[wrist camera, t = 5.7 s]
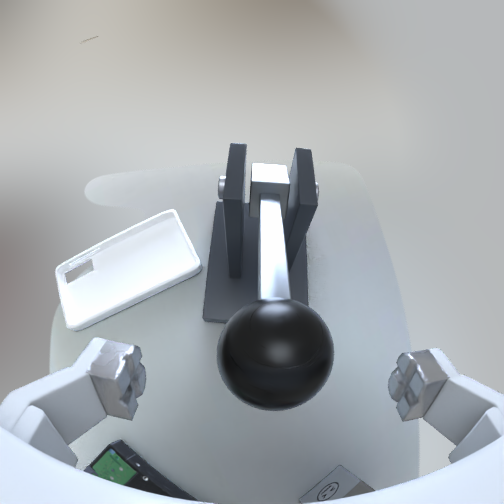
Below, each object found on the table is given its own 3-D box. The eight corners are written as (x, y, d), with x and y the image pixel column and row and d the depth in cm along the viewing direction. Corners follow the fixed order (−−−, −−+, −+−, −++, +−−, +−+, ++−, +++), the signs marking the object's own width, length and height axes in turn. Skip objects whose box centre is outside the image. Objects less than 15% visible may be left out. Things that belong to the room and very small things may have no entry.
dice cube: (332, 521, 15) (349, 542, 10) (298, 499, 16) (311, 521, 12) (370, 487, 17) (394, 503, 12) (339, 464, 18) (361, 480, 14)
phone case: (74, 333, 22) (204, 271, 26) (67, 331, 21) (202, 265, 25) (60, 272, 25) (176, 214, 29) (54, 267, 24) (173, 206, 27)
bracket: (305, 326, 24) (362, 275, 12) (204, 321, 24) (171, 264, 12) (301, 213, 29) (332, 118, 18) (217, 208, 29) (207, 108, 18)
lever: (321, 421, 8) (361, 379, 6) (215, 421, 8) (205, 379, 6) (291, 206, 19) (298, 157, 17) (239, 202, 19) (241, 153, 17)
